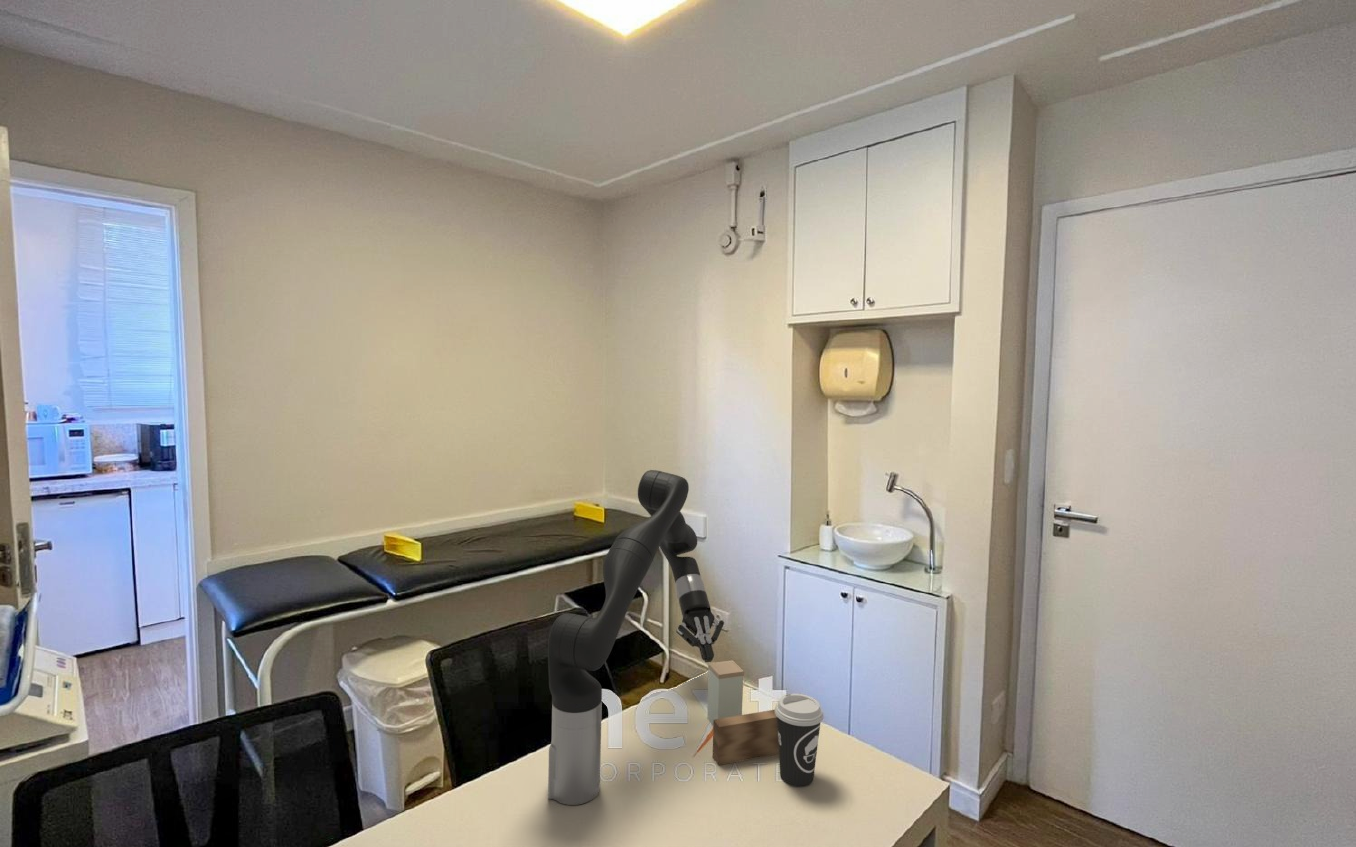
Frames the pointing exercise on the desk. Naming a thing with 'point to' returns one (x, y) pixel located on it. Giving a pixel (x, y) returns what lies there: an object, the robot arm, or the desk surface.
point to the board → (745, 737)
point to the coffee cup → (798, 737)
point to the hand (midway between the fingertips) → (709, 660)
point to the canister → (724, 690)
